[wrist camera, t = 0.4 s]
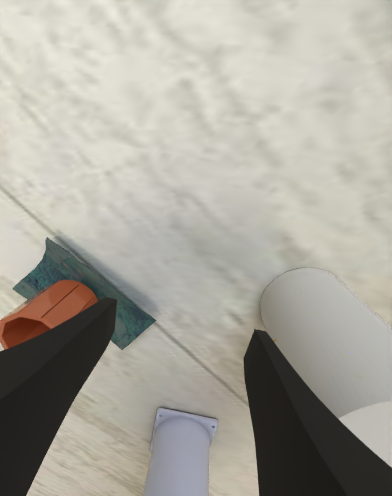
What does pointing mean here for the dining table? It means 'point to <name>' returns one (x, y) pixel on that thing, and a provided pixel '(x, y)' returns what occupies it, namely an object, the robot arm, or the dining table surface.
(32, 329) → the faceted terracotta tumbler
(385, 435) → the white cylinder
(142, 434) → the dining table surface
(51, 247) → the terrain model
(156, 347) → the dining table surface
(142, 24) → the dining table surface
